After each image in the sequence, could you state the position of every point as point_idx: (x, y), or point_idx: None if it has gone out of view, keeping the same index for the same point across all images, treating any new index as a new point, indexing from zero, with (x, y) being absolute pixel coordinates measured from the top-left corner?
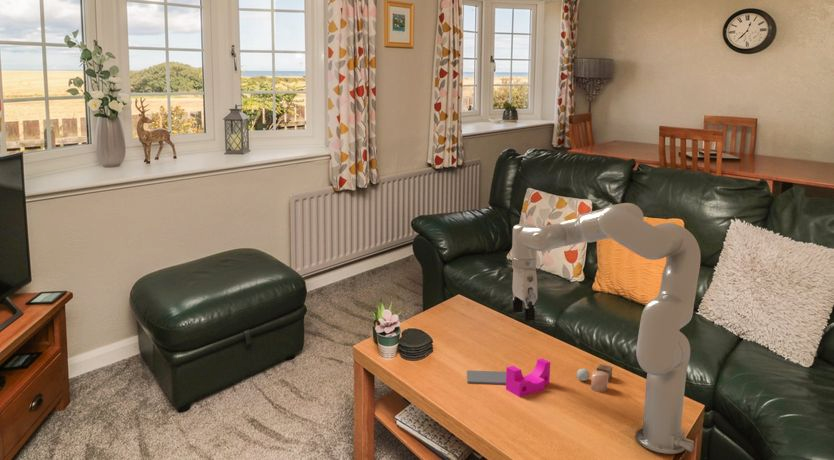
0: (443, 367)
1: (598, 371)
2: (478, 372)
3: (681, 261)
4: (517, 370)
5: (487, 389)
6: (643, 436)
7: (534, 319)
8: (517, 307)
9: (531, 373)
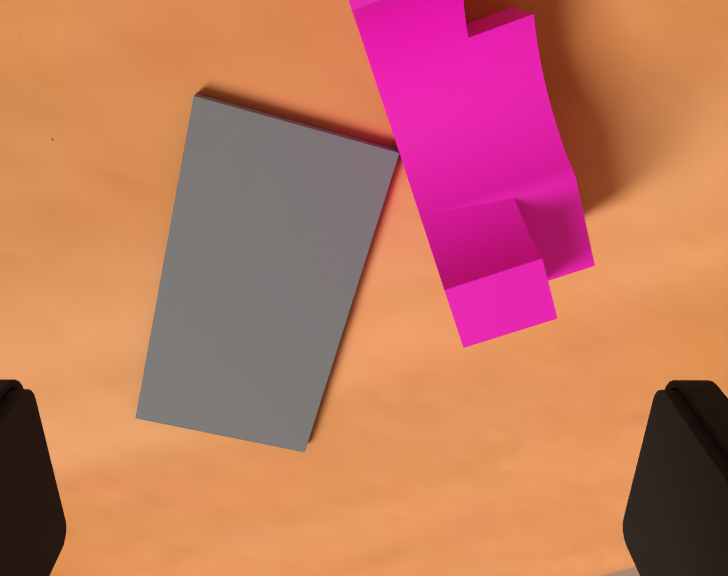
0: None
1: None
2: (174, 363)
3: None
4: (547, 291)
5: (411, 368)
6: None
7: (712, 383)
8: (10, 559)
9: (384, 71)
